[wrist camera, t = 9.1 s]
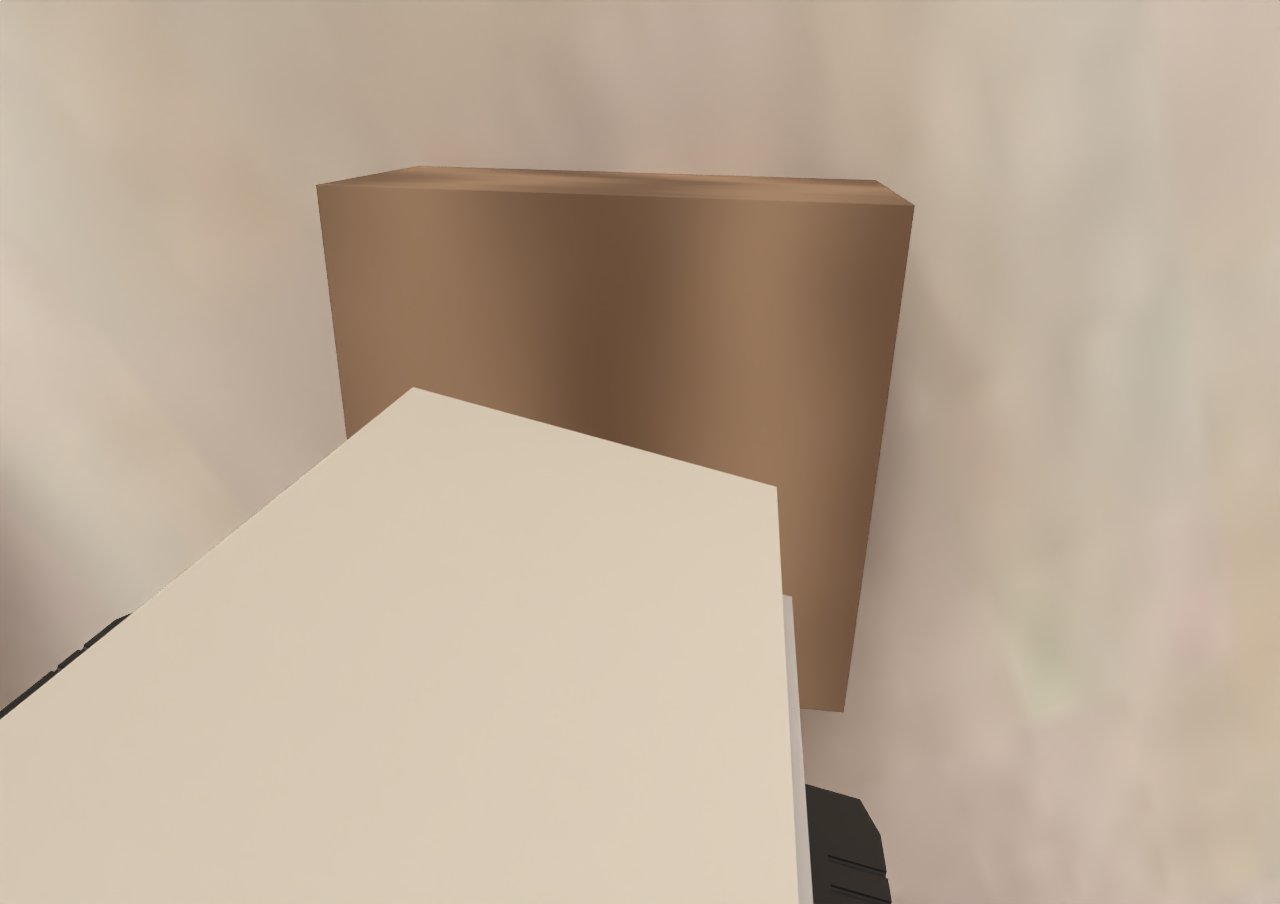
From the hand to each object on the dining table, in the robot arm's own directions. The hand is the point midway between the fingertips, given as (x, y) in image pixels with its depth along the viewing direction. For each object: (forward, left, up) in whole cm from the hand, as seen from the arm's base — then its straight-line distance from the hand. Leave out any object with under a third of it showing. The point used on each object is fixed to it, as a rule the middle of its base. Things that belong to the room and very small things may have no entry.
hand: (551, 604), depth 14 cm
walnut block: (0, 0, -11) cm, 11 cm away
